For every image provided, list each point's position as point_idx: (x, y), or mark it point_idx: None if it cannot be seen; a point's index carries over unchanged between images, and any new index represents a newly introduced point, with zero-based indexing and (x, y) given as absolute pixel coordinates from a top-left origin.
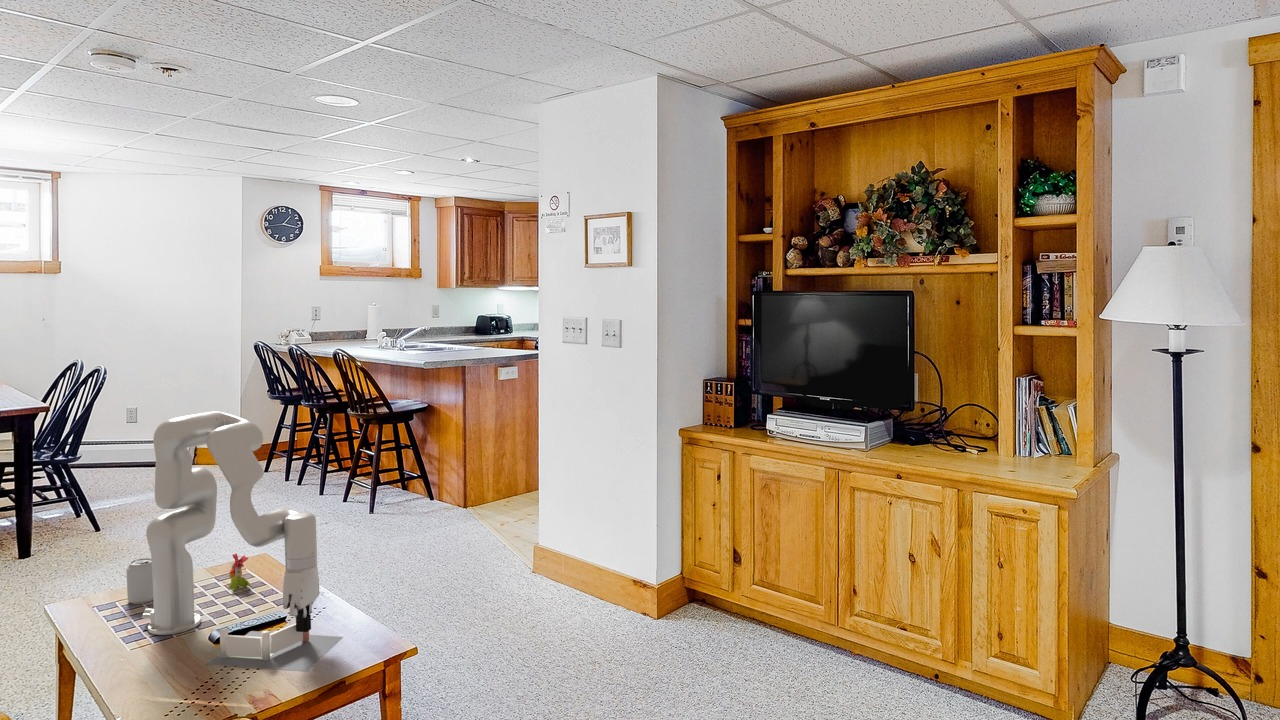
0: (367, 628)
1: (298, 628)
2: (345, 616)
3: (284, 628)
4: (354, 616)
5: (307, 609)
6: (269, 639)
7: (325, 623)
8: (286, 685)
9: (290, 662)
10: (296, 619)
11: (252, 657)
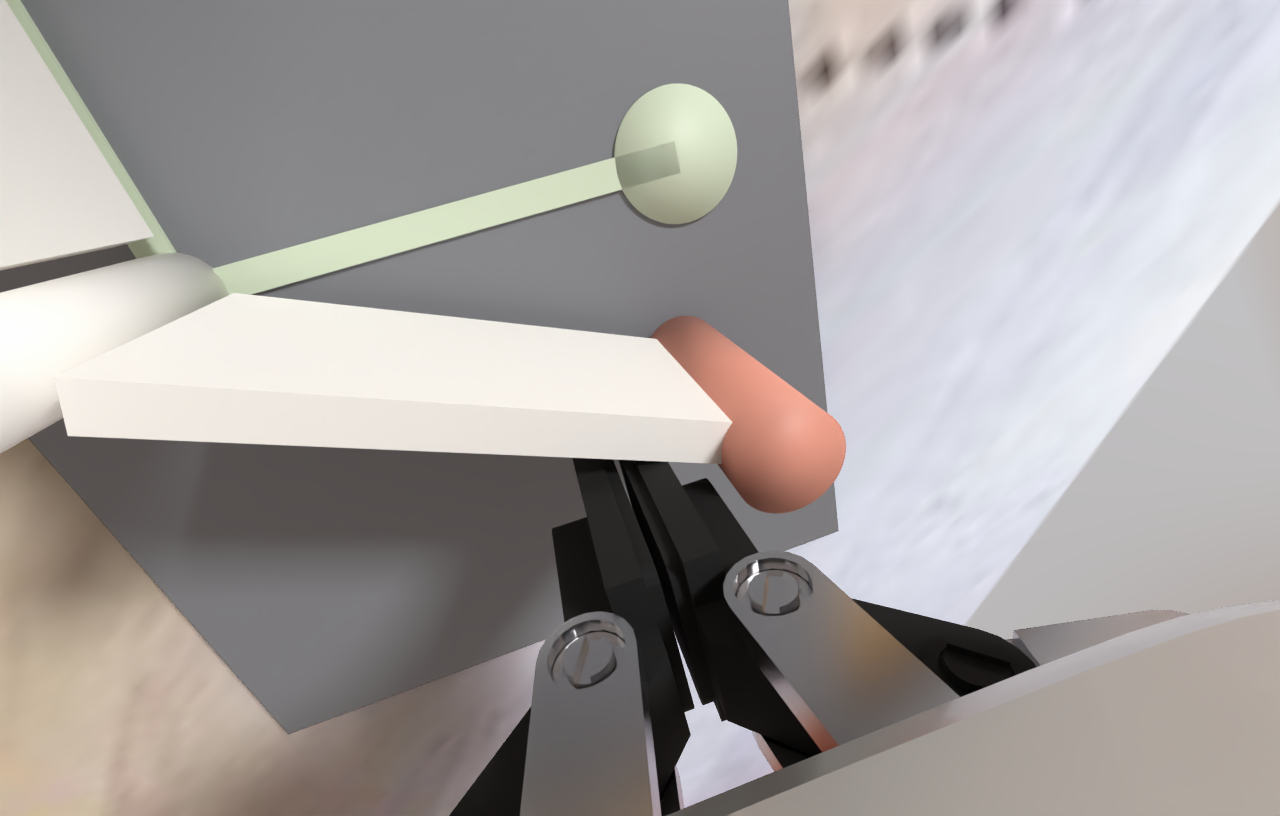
0: (996, 527)
1: (553, 541)
2: (1184, 244)
3: (412, 421)
4: (1178, 311)
5: (801, 744)
6: (46, 426)
7: (1063, 182)
8: (64, 752)
9: (307, 546)
10: (600, 559)
11: (70, 95)
